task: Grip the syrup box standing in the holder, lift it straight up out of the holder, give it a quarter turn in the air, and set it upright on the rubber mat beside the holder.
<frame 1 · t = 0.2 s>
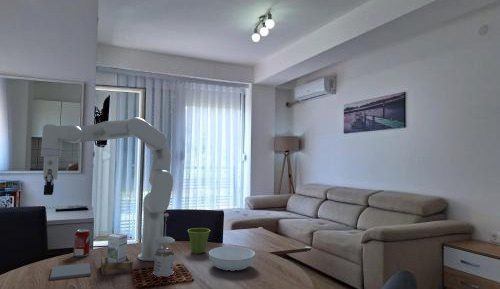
hand: (48, 193, 141), 31 cm above the table, tool pointing down, fingers open, 9 cm apart
mat: (71, 272, 136), on the table
holder: (116, 269, 142), on the table
soda can: (81, 256, 159), on the table
serving bowl: (231, 268, 150), on the table
french press: (162, 273, 139), on the table
plant pot: (197, 252, 173), on the table
syrup box: (116, 269, 142), resting in holder
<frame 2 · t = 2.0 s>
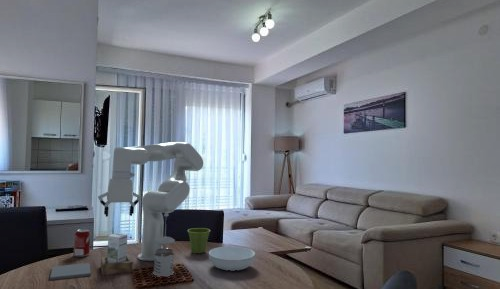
hand: (118, 215, 143), 22 cm above the table, tool pointing down, fingers open, 9 cm apart
nothing on the table moved.
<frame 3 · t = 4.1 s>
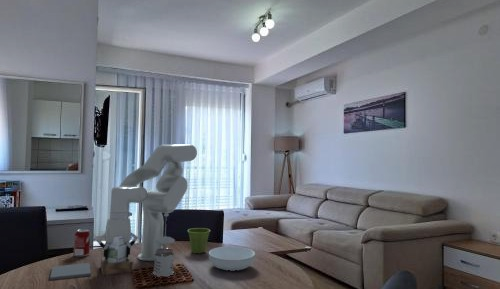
hand: (116, 257, 142), 5 cm above the table, tool pointing down, fingers closed on syrup box, 7 cm apart
syrup box: (116, 269, 142), resting in holder, touching gripper
everything else where it was.
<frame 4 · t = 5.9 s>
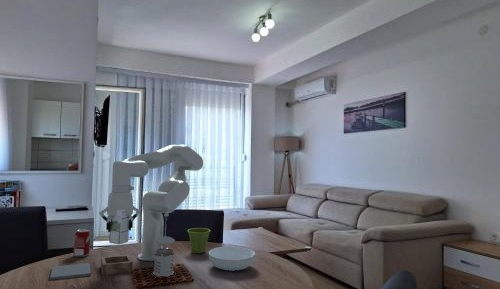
hand: (119, 230, 143), 16 cm above the table, tool pointing down, fingers closed on syrup box, 7 cm apart
syrup box: (118, 242, 143), point 11 cm above the table, touching gripper
everything else where it was.
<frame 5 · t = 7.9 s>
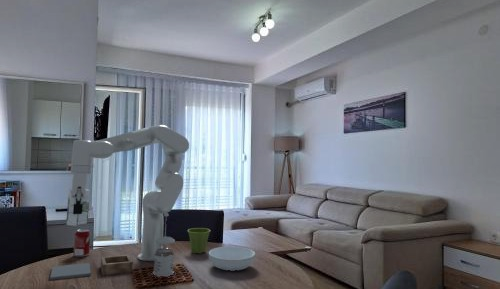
hand: (77, 212, 137), 24 cm above the table, tool pointing down, fingers closed on syrup box, 7 cm apart
syrup box: (77, 225, 137), point 19 cm above the table, touching gripper
everything else where it was.
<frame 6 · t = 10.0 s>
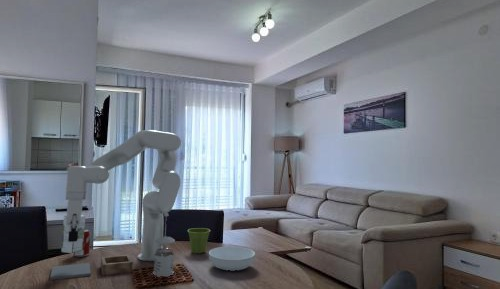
hand: (72, 238, 136), 13 cm above the table, tool pointing down, fingers closed on syrup box, 7 cm apart
syrup box: (72, 251, 136), point 8 cm above the table, touching gripper
everything else where it was.
when the fingers open (7 cm above the table, at t = 11.8 s): syrup box drops 1 cm, resting on mat.
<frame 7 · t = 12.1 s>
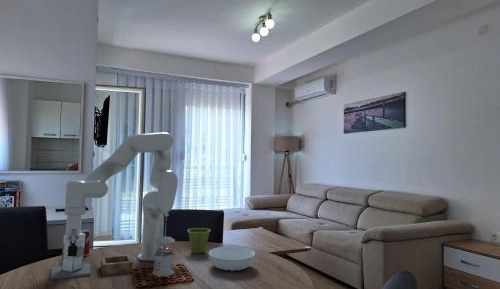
hand: (72, 252, 136), 8 cm above the table, tool pointing down, fingers open, 9 cm apart
syrup box: (72, 269, 136), point 1 cm above the table, touching mat
everything else where it was.
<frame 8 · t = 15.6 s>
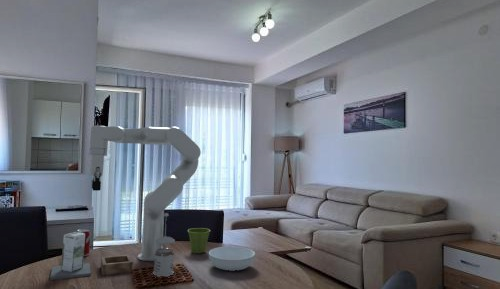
hand: (95, 189, 154), 32 cm above the table, tool pointing down, fingers open, 9 cm apart
nothing on the table moved.
at the end: syrup box inside the target area on the mat (0.4 cm from its centre), point 0.8 cm above the mat's base; syrup box tilted 0°; the gripper is holding nothing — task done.
